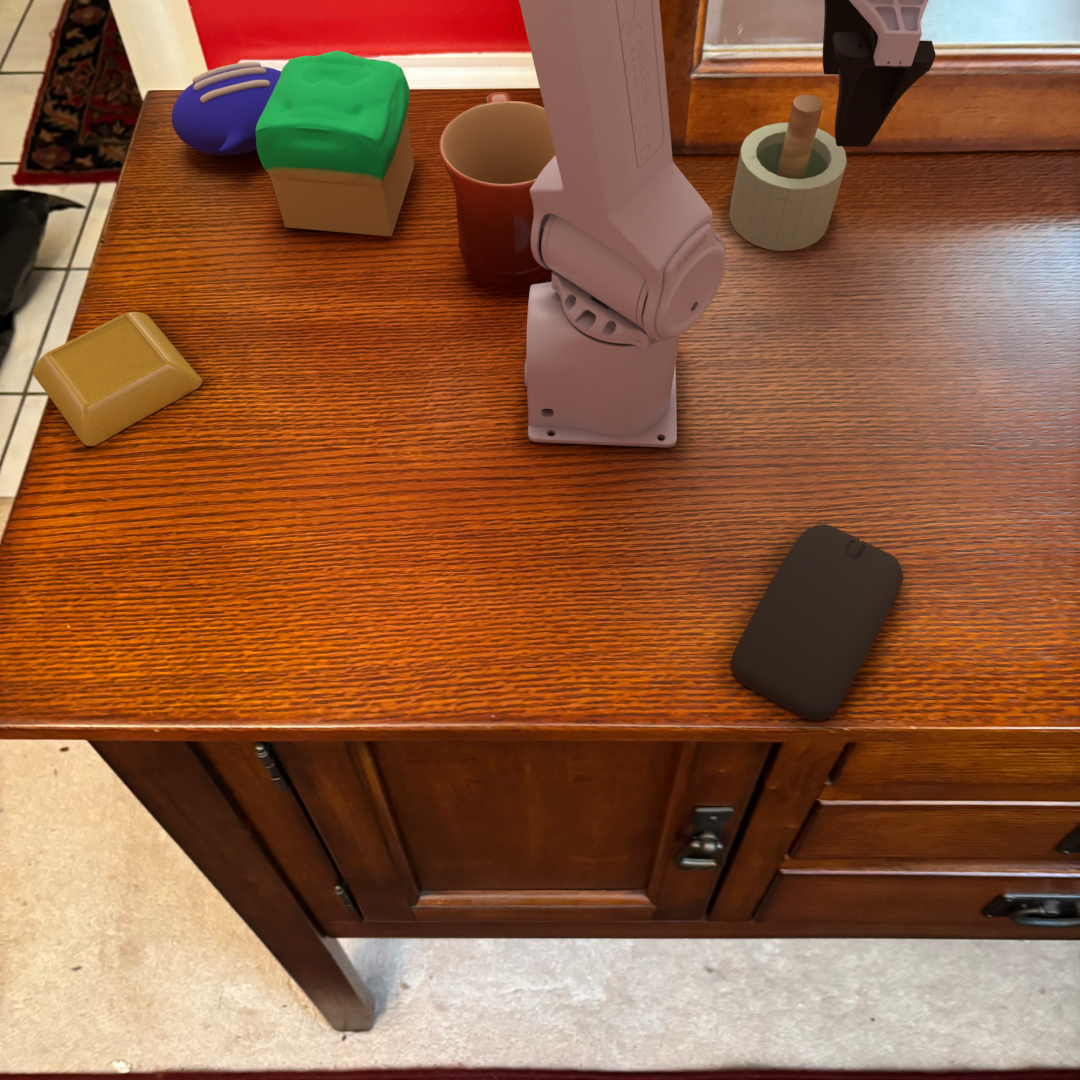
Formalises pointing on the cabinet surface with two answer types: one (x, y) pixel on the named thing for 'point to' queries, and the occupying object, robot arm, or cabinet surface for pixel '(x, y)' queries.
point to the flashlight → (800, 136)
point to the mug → (498, 188)
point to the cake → (338, 143)
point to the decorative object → (224, 108)
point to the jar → (784, 191)
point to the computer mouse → (817, 621)
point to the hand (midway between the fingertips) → (844, 106)
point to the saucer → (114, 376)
